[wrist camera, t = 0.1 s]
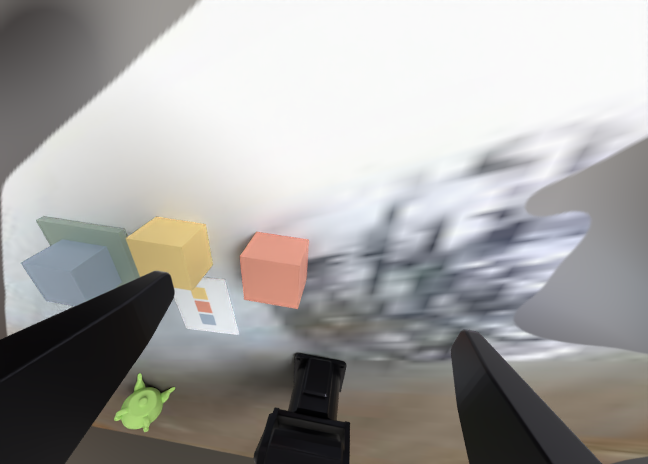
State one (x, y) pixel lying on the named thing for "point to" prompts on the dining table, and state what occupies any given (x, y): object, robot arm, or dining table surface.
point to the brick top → (172, 250)
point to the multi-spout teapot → (142, 406)
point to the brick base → (72, 272)
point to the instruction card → (207, 307)
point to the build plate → (94, 241)
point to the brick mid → (274, 269)
